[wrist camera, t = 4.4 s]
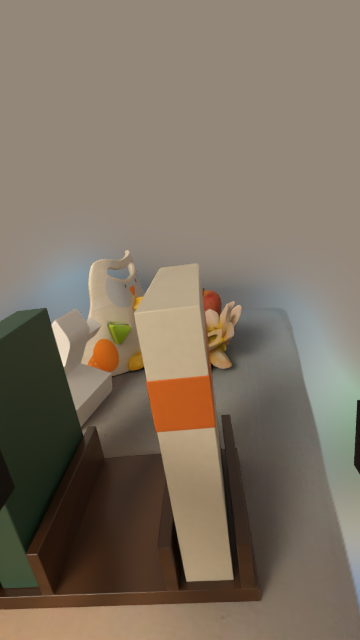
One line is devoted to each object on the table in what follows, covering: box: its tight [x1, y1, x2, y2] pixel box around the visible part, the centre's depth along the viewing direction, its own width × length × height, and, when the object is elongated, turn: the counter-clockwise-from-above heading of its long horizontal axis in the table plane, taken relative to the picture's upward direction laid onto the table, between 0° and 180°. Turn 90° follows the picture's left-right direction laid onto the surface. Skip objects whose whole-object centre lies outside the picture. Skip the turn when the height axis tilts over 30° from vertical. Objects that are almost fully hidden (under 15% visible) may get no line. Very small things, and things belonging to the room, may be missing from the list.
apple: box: [202, 289, 221, 316], centre depth 65 cm, size 7×7×8 cm
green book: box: [0, 308, 83, 589], centre depth 24 cm, size 3×11×16 cm, turn 177°
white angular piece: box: [52, 308, 112, 427], centre depth 40 cm, size 8×14×14 cm, turn 164°
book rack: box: [0, 415, 261, 609], centre depth 24 cm, size 18×12×13 cm, turn 87°
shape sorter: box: [81, 250, 144, 377], centre depth 55 cm, size 20×10×18 cm, turn 162°
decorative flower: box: [205, 301, 242, 369], centre depth 51 cm, size 15×11×10 cm
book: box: [134, 263, 234, 582], centre depth 22 cm, size 3×11×18 cm, turn 177°
